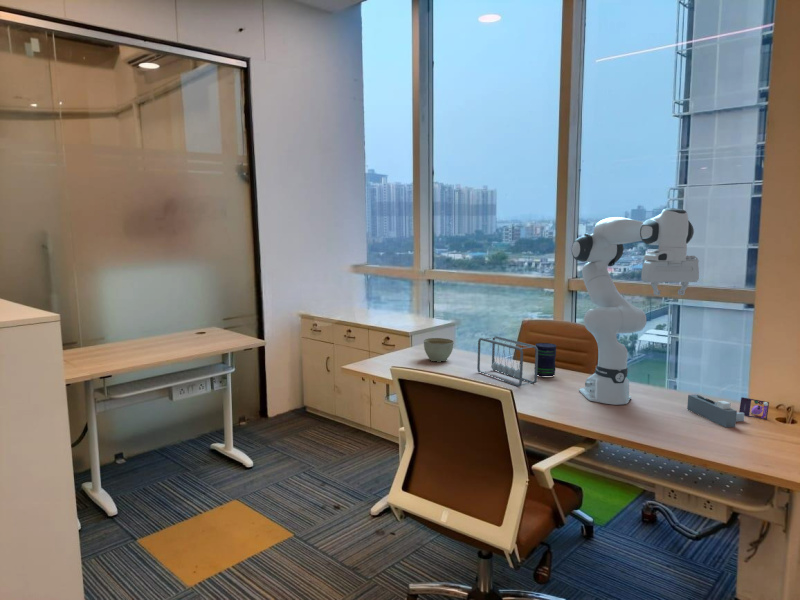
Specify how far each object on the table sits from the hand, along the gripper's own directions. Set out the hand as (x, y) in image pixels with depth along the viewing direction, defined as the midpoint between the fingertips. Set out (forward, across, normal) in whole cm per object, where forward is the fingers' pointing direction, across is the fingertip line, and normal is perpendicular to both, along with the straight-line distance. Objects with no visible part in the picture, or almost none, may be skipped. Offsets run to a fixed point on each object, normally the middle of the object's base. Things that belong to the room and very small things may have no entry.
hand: (668, 295), depth 191 cm
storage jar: (+48, +11, -72) cm, 87 cm away
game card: (+48, -44, -5) cm, 65 cm away
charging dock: (+47, -29, -5) cm, 56 cm away
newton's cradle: (+48, +32, -68) cm, 89 cm away
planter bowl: (+48, +55, -107) cm, 130 cm away
